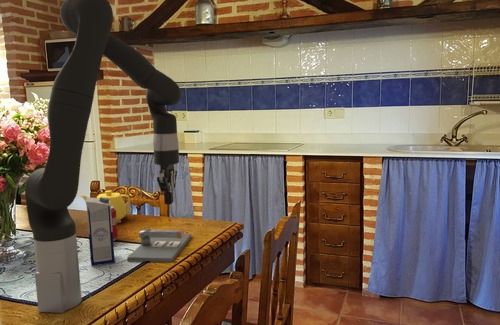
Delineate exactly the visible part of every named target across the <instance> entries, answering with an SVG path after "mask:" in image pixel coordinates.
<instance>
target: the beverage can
mask: <svg viewBox="0 0 500 325" xmlns="http://www.w3.org/2000/svg"><path fill="white" fill-rule="evenodd" d="M111 217H112V231H113V242H114V241H116V240H117V239H118V236H119V233H118V232H119V231H118V223H117V218H116V210H115V209H114V207H113V206H111Z"/></svg>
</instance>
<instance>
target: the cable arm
mask: <svg viewBox="0 0 500 325" xmlns="http://www.w3.org/2000/svg"><path fill="white" fill-rule="evenodd" d="M184 232H185V230H184V229H151V228H142V229H140V230H139V231H138V234H139V235H138V236H139V238H140V239H141V238H179V239H182V238H183V236H184V234H185V233H184Z"/></svg>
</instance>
